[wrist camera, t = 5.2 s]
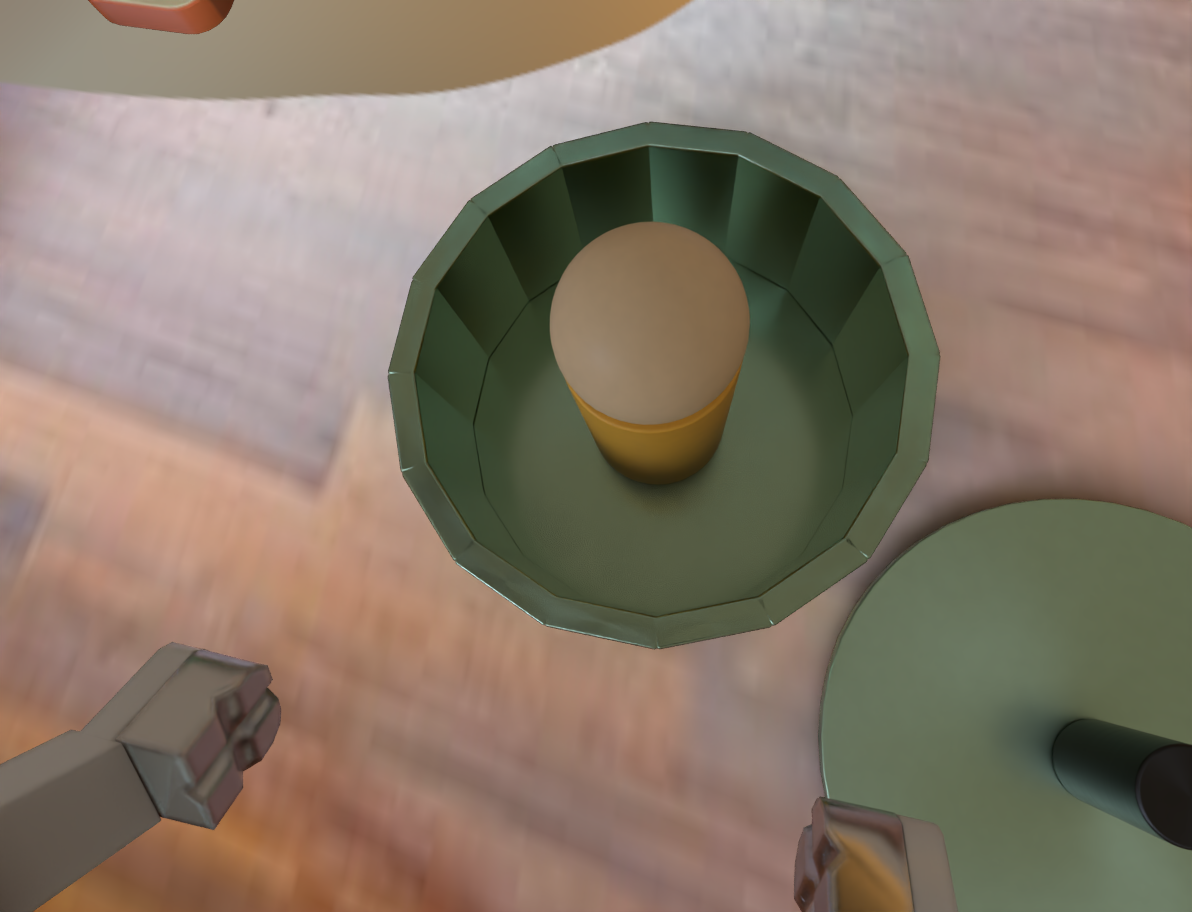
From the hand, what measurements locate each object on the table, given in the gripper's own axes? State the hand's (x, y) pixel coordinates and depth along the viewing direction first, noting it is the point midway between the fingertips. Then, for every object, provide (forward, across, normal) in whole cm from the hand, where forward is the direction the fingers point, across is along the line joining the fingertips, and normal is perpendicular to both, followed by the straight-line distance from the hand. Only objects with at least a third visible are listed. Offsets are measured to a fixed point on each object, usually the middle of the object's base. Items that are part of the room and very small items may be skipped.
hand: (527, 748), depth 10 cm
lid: (+10, -14, +9) cm, 20 cm away
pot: (+16, 0, +4) cm, 16 cm away
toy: (+16, 0, +4) cm, 16 cm away
